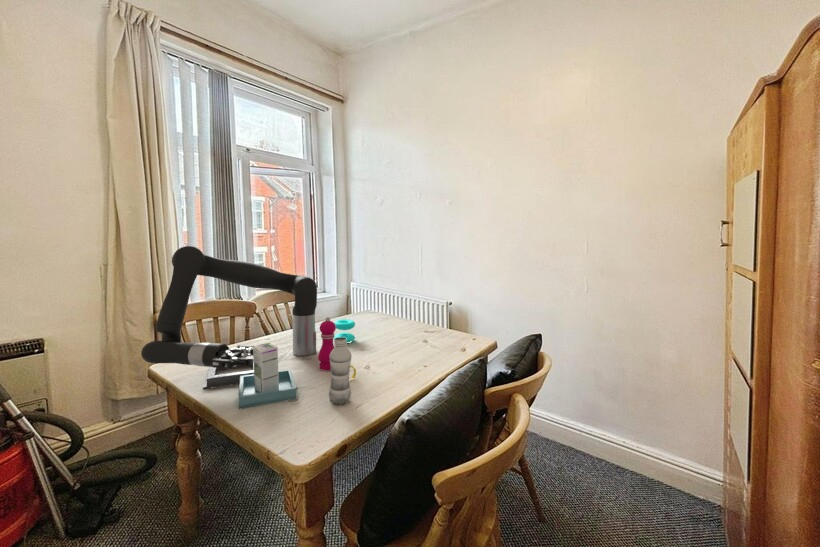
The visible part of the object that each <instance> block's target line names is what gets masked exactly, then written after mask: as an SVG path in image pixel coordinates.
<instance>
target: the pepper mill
mask: <svg viewBox="0 0 820 547" xmlns="http://www.w3.org/2000/svg"><path fill="white" fill-rule="evenodd" d="M336 330H337V329H336V325H335V321H332V320H331V317H329V316H327V317H326V318H325V320H324V321H322V323H320V324H319V331H320V333H321V334H320V338H321V339H322V343H321V347H320V350H319V352H318V355H317V356H318V357H317V359H318V361H319V370H321V369H322V370H321V371H324V370H329V371H331V370H330V369H331V365H330V353H331V352H332V350H333V349H334V347H335V346H334V337H335V331H336Z"/></svg>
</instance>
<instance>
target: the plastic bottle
mask: <svg viewBox="0 0 820 547" xmlns="http://www.w3.org/2000/svg"><path fill="white" fill-rule="evenodd" d="M333 345H334V349H333V350H332V352H331V353H330V365H331V370H330V373H331V375H330V377H331V379H330V387H329V390H328V399H329V401H330V402H331V403H332V404H334V405H343V404H346V403H348V402H349V400H350V399H351V396H352V389H351V384H350V382H351V381H349V379H350V369H351V368H350V364H352V363H351V362H352V356H353V355H352V352H351V351H350V349H349V348H348V346H347V345H348V344H347V339H346V338H344V337H338V338H335V339H334V338H333Z"/></svg>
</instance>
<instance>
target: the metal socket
mask: <svg viewBox="0 0 820 547" xmlns="http://www.w3.org/2000/svg"><path fill="white" fill-rule="evenodd" d="M246 358H248V359H250V365H249V366H238V365H237V366H236V367H233V366H232V368H231V369H230V370H232V369H240V368H249V367H252V368H253V369H252V370H251V369H250V370H245V371H243V370H242V371H237V372H231V373H223V374H218V371H224V370H225V371H226V370H227V369H224V368H214V367H208V369H207V373H206V376H205V380H204V383H203V386H202V389H203V388H208V389H212V388H211V387H215V388H220V386H221V387H226V386H233V385H234V386H235V385H240V376H244V375H252V374H254V360H253V356H247V357H246ZM225 365H226V366H227V364H226V363H225Z"/></svg>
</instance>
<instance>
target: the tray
mask: <svg viewBox="0 0 820 547" xmlns="http://www.w3.org/2000/svg"><path fill="white" fill-rule="evenodd" d="M278 374H279V390H273V391H267V392H261V393H259V392H258V391H256V390H255V386H254V374H252V375H244V376H240V384H239V389H238V390H239V391H238V409H239V410H240V408H242V409H247V408H253V407H257V406H263V405H270V404H276V403H281V402H286V400H287V401H292V400H297V399H298V398H297V385H296V381H295V378H294V374H293V371H292V369H291V368H288V369H283V370H282V369H281V370H280V369H279V370H278ZM296 398H297V399H296ZM291 399H292V400H291Z"/></svg>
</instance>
